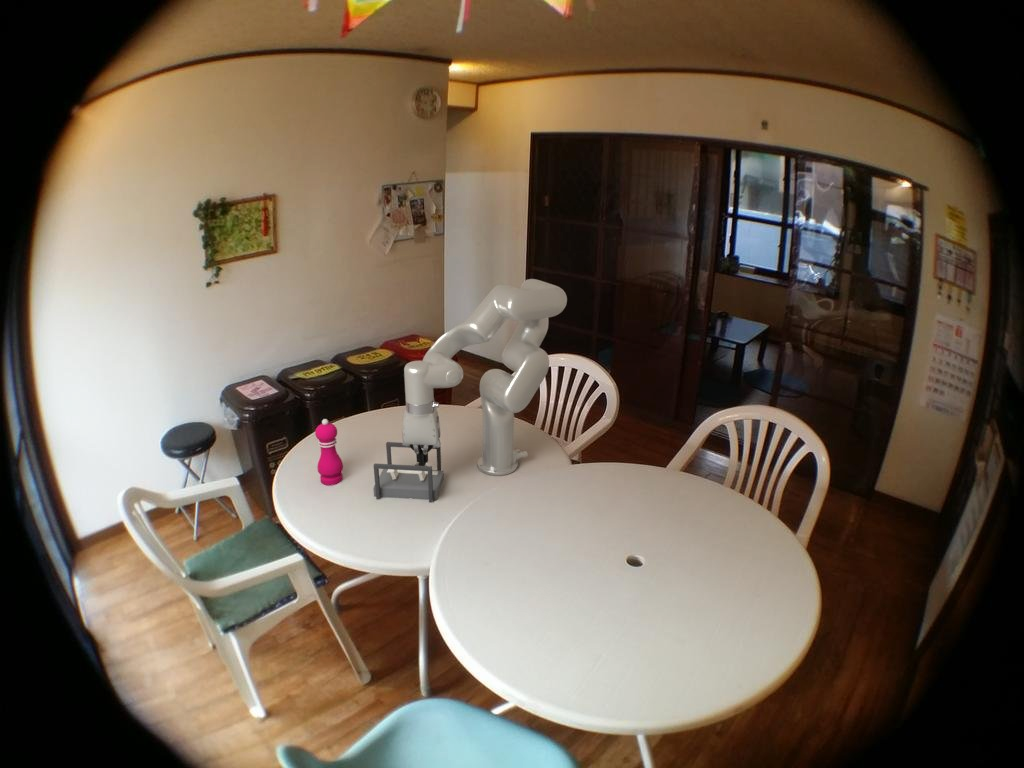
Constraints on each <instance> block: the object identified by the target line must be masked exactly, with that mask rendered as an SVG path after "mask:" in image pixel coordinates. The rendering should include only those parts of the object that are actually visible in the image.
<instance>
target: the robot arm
mask: <svg viewBox="0 0 1024 768" xmlns="http://www.w3.org/2000/svg"><path fill="white" fill-rule="evenodd" d="M567 302H568V297H567V294H566V292H565V291H564V289H563V288H561V287H560V286H558V285H555V284H552V283H549V282H547V281H543V280H539V279H535V278H529V279H528V278H527V279H525V280H524V281H523V282H522V283H521V285H520V287H519V288H517V287H515V286H512V285H508V284H504V283H503V284H498V285H496V286H494V287H493V288H492V289H491V290H490V292H488V294H487V295H486V296H485V297H484V299H482V301H481V302H480V303H479V305H478V306H477V307H476V308H475V309H474V310H473V312H472V313H471V314H470V315H469V316H468V317H467V319H466V320H465V321H464V322H462V323H460V324H457V325H456V326H454V327H453V328H451V329H450V330H448V331H446V332H445V333H443V334H442V335H441V336H440V337H438V338H437V340H435V342H434V343H433V344H432V345H431V347H430V348H429V349H428V350H427V352H426V353H425V355H424V357H423V358H422V360H413V361H410V362H408V363H406V364H405V365H404V368H403V372H404V373H403V377H404V393H405V395H404V396H405V408H404V411H403V415H402V427H401V428H402V429H401V435H402V437H401V439H402V443H403V446H407V447H410V448H409V449H412V451H413V452H414V454H415V456H416V463H417V464H418V466H426V463H429V452H430V451H432V450H433V449H432V448H439V447H440V446H441V445H442V443H441V439H440V438H441V425H440V424H441V423H440V415H439V412H438V409H437V408H439V407H440V403H439V402H437V401H435V398H434V389H448V388H449V389H451V388H453V387H456V386H458V385H459V384H461V382H462V380H463V378H464V370H463V368H462V367H461V365H460V364H459V363H458V362H457V361H455V360H453V359H452V358H453V357H454V356H455V355H456V354H457V353H458V352H460V350H462V349H464V348H466V347H469V346H473V345H481V344H485V343H488V342H490V341H491V340H492V338H493V337H494V336H495V334H496V333H497V332H498V331H499V329H500V328H501V327H502V325H504V323H505V322H507V320H508V319H510V320H512V321H514V322H519V324H518V325H517V327H516V329H515V330H514V332H513V334H512V335H511V338H510V339H509V341H508V342H507V344H506V345H505V347H504V349H503V351H502V352H501V361H502V363H503V364H504V366H506V367H507V368H508V369H510V370H511V371H513V372H514V375H512V374H511V373H509V372H507V371H505V370H502V369H499V368H492V369H489V370H487V371H485V373H484V374H483V375H482V376H481V378H480V382H479V394H480V400H481V401H480V402H481V409H482V456H480V457H479V458H478V460H477V467H478V469H479V470H480V471H481V472H483V473H484V474H487V475H490V476H506V475H509V474H511V473H514V471H516V470H517V468H518V463H519V462H518V460H519V459H523V458H528V452H527V450H525V451H521V449H520V448H518V449H517V448H516V449H514V433H515V432H514V430H515V429H514V426H515V424H514V423H515V414H517V413H520V412H521V411H523V410H525V408H527V407H528V405H529V404H530V403H531V400H532V399H533V397H534V396H535V394H536V392H537V391H538V389H539V388H540V386H541V384H542V382H543V381H544V380H545V377H546V376H547V374H548V371H549V369H550V358H549V354H548V353H547V351H545V350H544V349H543V348H541V347H540V346H541V345H542V342H543V341H544V339H545V337H546V335H547V332H548V331H549V330H548V329H549V318H553V317H556V316H557V315H558V316H559V314H561V313H562V312H563V311H564V309H565V308H566V306H567ZM421 445H424V448H421Z"/></svg>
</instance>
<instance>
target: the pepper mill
mask: <svg viewBox="0 0 1024 768" xmlns="http://www.w3.org/2000/svg"><path fill="white" fill-rule="evenodd" d="M314 435H315V438H316V439H317V440H318V441H317V444H318V445H317V446H319V448H320V457H319V459H318V462H317V473H319V475H320V476H319V479H320V483H321V484H322V485H325V486H334V485H338V484H340V483H341V482H342V481H343V480H344V479H343V477H344V476H343V472H342V471H343V470H344V469H343V468H344V463H343V461H342V459H341V457H340V455H339V454H338V451H337V449H336V448H337V447H336V445H337V438H336V437H337V435H338V429H337V427H336V425H334V424H333V423H331V422H329V420H328V419H327V418H323V419H322V420H321V423H320V424H319V425H318V426H317V427H316V428H315V433H314Z"/></svg>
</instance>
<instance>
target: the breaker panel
mask: <svg viewBox="0 0 1024 768" xmlns="http://www.w3.org/2000/svg"><path fill="white" fill-rule="evenodd" d="M391 470H392V469H382V471H381V473H379V481H380V493H381V498H394V499H409V498H412V500H428V501H429V488H428V471H425V474H426V476H425V479H424V480H423V481H420V478H419V475H418V473H419V471H412V470H397V471H398V476H397V478H396V479H392V476H391V473H390V472H391ZM432 479H433V501H437V500H438V498H439V494H440V492H441V490H442V487H443V484H444V481H445V472H444V470H442V469H441V470H437V469H435V470H434V469H432ZM372 489H373V497H375V498H376V489H375V484H374V486H373V488H372Z"/></svg>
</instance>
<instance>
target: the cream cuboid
mask: <svg viewBox="0 0 1024 768" xmlns="http://www.w3.org/2000/svg"><path fill="white" fill-rule="evenodd" d="M418 475H419V478H420V481H423V480H424V479H425V476H426V474H425V471H419V473H418Z"/></svg>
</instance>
